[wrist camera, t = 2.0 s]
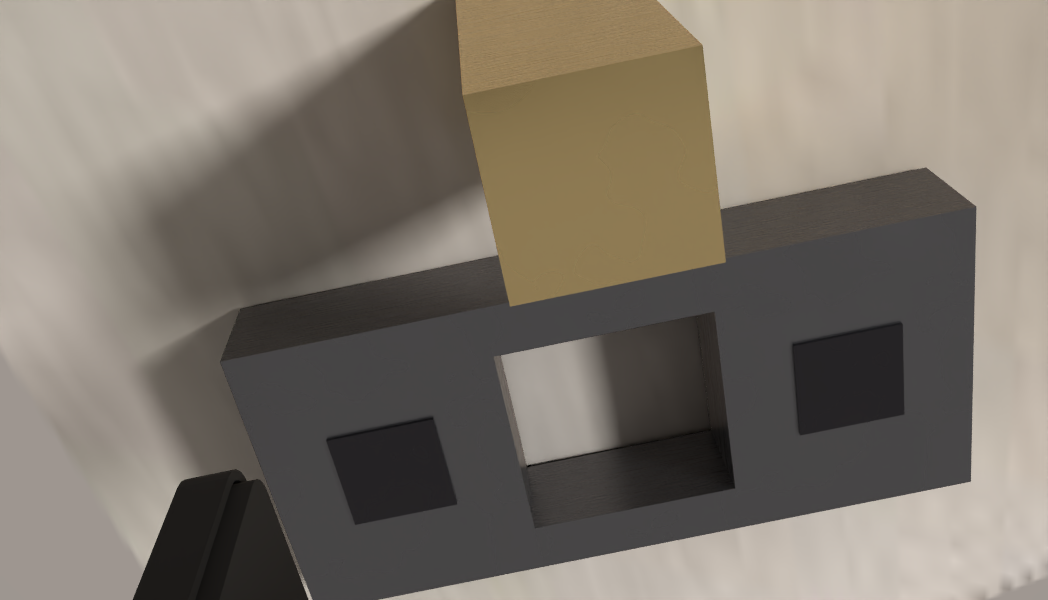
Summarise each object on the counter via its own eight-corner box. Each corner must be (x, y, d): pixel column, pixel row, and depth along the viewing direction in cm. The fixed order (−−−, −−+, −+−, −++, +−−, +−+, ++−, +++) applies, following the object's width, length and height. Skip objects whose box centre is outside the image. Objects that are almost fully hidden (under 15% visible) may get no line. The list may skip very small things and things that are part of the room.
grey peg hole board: (240, 309, 29) (219, 363, 26) (925, 167, 28) (977, 207, 26) (327, 545, 33) (317, 614, 30) (927, 424, 33) (972, 483, 30)
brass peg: (454, -13, 25) (462, 95, 16) (609, -45, 25) (702, 44, 16) (487, 137, 27) (509, 306, 18) (632, 106, 27) (725, 262, 18)
